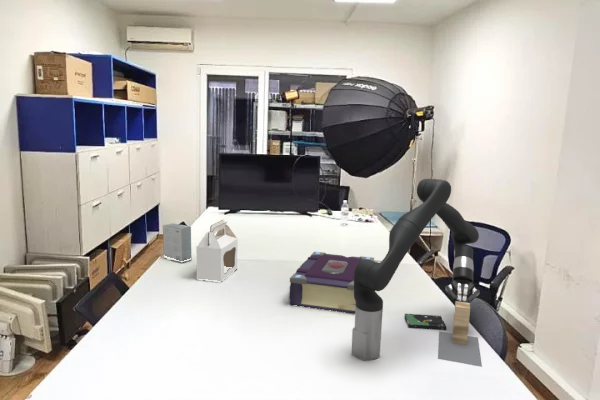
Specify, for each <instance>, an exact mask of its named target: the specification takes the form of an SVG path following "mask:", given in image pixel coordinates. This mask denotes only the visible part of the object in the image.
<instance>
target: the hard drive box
mask: <svg viewBox="0 0 600 400" xmlns="http://www.w3.org/2000/svg"><path fill="white" fill-rule="evenodd" d="M162 236H163V237H162V238H163V239H162V243H163V244H162V245H163V256H164V255H165V256H167V257H170V258H174V259H176V260H179V261H184V260H187V259H190V258H191V259H192V227H191V225H184V224H179V223H168V224H164V225H162Z"/></svg>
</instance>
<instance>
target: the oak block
mask: <svg viewBox="0 0 600 400" xmlns="http://www.w3.org/2000/svg"><path fill="white" fill-rule="evenodd" d="M454 302H455V303H454V313H453V325H452V332H451V333H452V342H455V343H461V344H467V337H468V336H469V335H468V334H469V327H470V326H469V325H470V315H471V302H470V303H465V302H458V301H454Z"/></svg>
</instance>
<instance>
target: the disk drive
mask: <svg viewBox="0 0 600 400" xmlns="http://www.w3.org/2000/svg"><path fill="white" fill-rule="evenodd" d="M404 321H405V324H406V326H407V328H408V329H420V330H421V329H422V330H433V331H447V329H448V328H447V327H448V326H447V325H446V323H445V321H444V320H443V317H442V316H441V315H436V314H435V315H433V314H430V315H429V314H415V313H404Z"/></svg>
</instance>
